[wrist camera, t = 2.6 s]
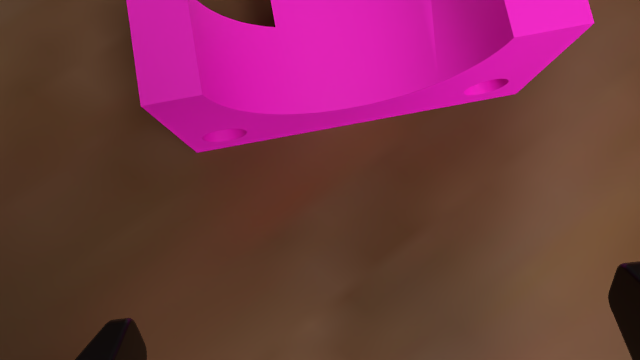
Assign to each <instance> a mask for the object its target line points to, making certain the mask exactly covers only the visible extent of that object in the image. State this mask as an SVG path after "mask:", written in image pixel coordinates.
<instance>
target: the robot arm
mask: <svg viewBox="0 0 640 360" xmlns="http://www.w3.org/2000/svg"><path fill="white" fill-rule="evenodd" d="M608 299H609V304H610V307H611V310H612V312H613V314H614V317H615V319H616V322H617V324H618V326H619V329H620V331H621V334H622V336H623V338H624V341H625V343H626V345H627V348H628V350H629V353H630V355H631V357H632V360H640V262H630V263H623V264H621V265H619V266H618V268H617V270H616V273H615V276H614V279H613V282H612V285H611V287H610V290H609V295H608ZM75 360H147V351H146V346H145V343H144V341H143V339H142V336H141V334H140V332H139V330H138V328H137V326H136V323H135V322H134V320H132V319H131V318H125V319H116V320H111V321H109V322H108V323H106V324H105V326H104V327H103V328H102V329H101V330H100V331H99V333H98V334H97V335H96V336H95V337H94V338H93V339H92V341H91V342H90V343H89V344H88V345H87V346H86V348H85V349H84V350H83V351H82V352H81V353H80V354H79V356H78V357H77V358H76V359H75Z"/></svg>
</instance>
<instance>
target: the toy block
mask: <svg viewBox="0 0 640 360" xmlns="http://www.w3.org/2000/svg"><path fill="white" fill-rule="evenodd" d="M126 1H127V9H128V16H129V24H130V31H131V38H132V46H133V53H134V60H135V68H136V75H137V82H138V90H139V97H140V105H141V107H142V108H143V109H145V110H146V111H147V112H148V113H149V114H151V115H152V116H153V117H154V118H156V119H157V120H158V121H159V122H160V123H162V124H163V125H164V126H165V127H166V128H168V129H169V130H170V131H171V132H172V133H174V134H175V135H176V136H177V137H178V138H180V139H181V140H182V141H183V142H185V143H186V144H187V145H188V146H189V147H191V148H192V149H193V150H194V151H195V152H197V153H198V152H204V151H209V150H215V149H220V148H226V147H231V146H236V145H242V144H247V143H253V142H258V141H263V140H269V139H274V138H280V137H285V136H290V135H296V134H301V133H307V132H312V131H318V130H323V129H328V128H334V127H339V126H345V125H350V124H355V123H361V122H366V121H372V120H377V119H382V118H388V117H393V116H399V115H404V114H410V113H415V112H420V111H426V110H431V109H437V108H442V107H447V106H453V105H458V104H464V103H469V102H475V101H480V100H485V99H491V98H496V97H502V96H507V95H512V94H516V93H517V92H519V91H520V90H521V89H522V88H523V87H524V86H525V85H526V84H527V83H528V82H530V81H531V80H532V79H533V78H534V77H535V76H536V75H537V74H538V73H540V72H541V71H542V70H543V69H544V68H545V67H546V66H547V65H548V64H550V63H551V62H552V61H553V60H554V59H555V58H556V57H557V56H558V55H559V54H561V53H562V52H563V51H564V50H565V49H566V48H567V47H568V46H569V45H571V44H572V43H573V42H574V41H575V40H576V39H577V38H578V37H579V36H580V35H582V34H583V33H584V32H585V31H586V30H587V29H588V28H589V27H590V26H592V25H593V24H594V20H593V17H592V13H591V10H590V6H589V3H588V0H271V5H272V10H273V16H274V21H275V27H266V26H259V25H253V24H248V23H243V22H240V21H236V20H233V19H230V18H227V17H225V16H222V15H220V14H218V13H216V12H214V11H212V10H210V9H208V8H207V7H205V6H204V5H202V4H201V3H200V2H198V1H197V0H126Z"/></svg>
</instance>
